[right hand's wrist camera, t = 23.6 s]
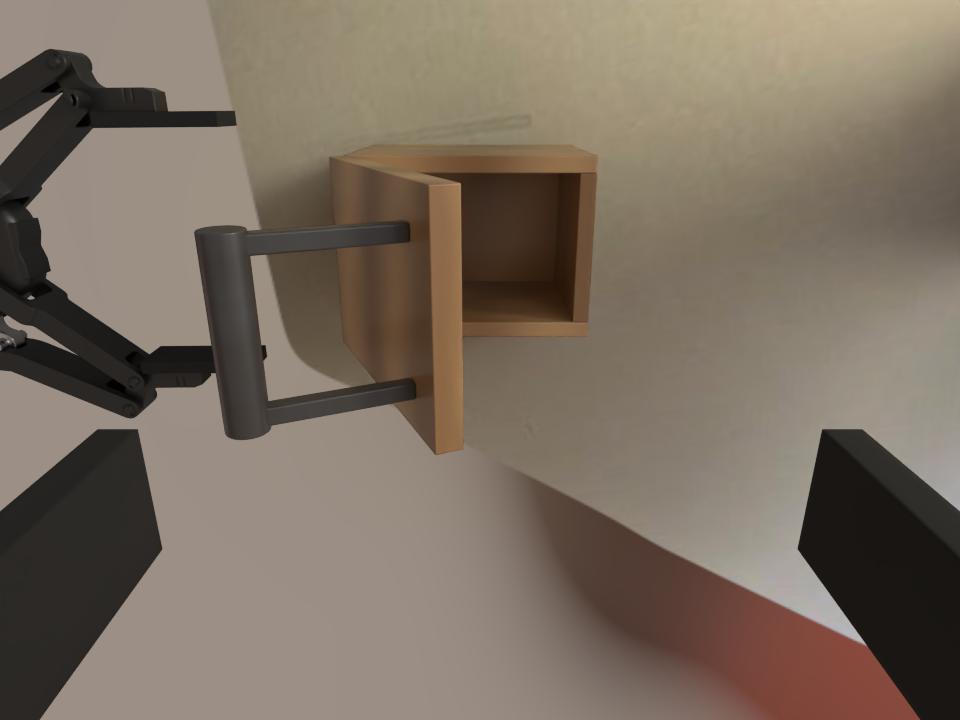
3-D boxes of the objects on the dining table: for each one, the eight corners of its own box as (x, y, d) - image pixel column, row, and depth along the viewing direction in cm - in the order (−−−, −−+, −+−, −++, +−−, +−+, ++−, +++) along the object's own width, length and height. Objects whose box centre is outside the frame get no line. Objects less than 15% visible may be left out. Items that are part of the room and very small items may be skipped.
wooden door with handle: (461, 182, 21) (190, 195, 18) (464, 449, 25) (237, 499, 21) (351, 156, 33) (175, 161, 30) (363, 339, 36) (207, 361, 33)
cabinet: (571, 144, 43) (598, 155, 33) (565, 290, 46) (587, 337, 37) (373, 144, 43) (342, 155, 33) (381, 289, 46) (355, 337, 37)
